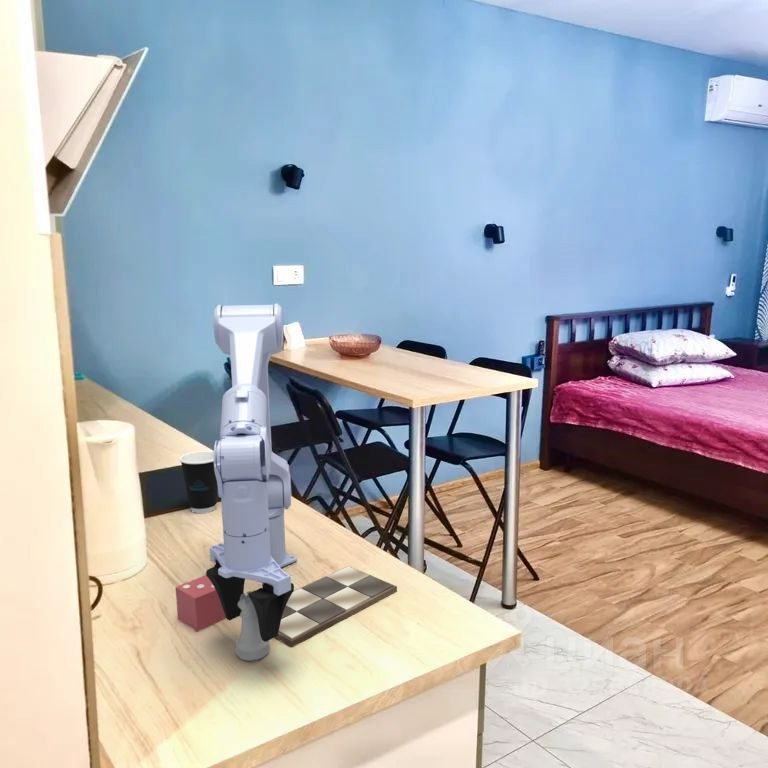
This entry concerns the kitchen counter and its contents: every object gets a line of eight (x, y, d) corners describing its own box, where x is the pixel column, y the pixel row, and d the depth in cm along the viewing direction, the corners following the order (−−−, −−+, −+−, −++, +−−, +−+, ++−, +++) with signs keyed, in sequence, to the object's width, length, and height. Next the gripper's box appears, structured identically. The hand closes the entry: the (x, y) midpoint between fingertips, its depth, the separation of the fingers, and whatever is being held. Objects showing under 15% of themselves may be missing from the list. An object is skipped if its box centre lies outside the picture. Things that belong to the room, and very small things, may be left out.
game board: (243, 619, 102) (243, 612, 101) (348, 570, 116) (348, 564, 116) (291, 647, 94) (291, 640, 94) (397, 591, 109) (396, 585, 109)
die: (177, 619, 102) (175, 586, 101) (208, 606, 106) (206, 574, 105) (197, 632, 99) (195, 598, 98) (227, 618, 102) (225, 585, 101)
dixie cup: (212, 499, 150) (209, 448, 147) (230, 509, 144) (227, 456, 141) (176, 508, 145) (172, 455, 143) (193, 519, 139) (189, 465, 137)
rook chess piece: (254, 639, 96) (252, 584, 95) (277, 651, 94) (274, 594, 92) (228, 654, 93) (224, 597, 91) (251, 666, 90) (247, 608, 89)
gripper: (186, 522, 92) (193, 619, 95) (255, 554, 82) (261, 662, 85) (232, 507, 97) (238, 600, 100) (302, 536, 87) (306, 637, 90)
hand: (251, 627), depth 93 cm, fingers open, 7 cm apart
